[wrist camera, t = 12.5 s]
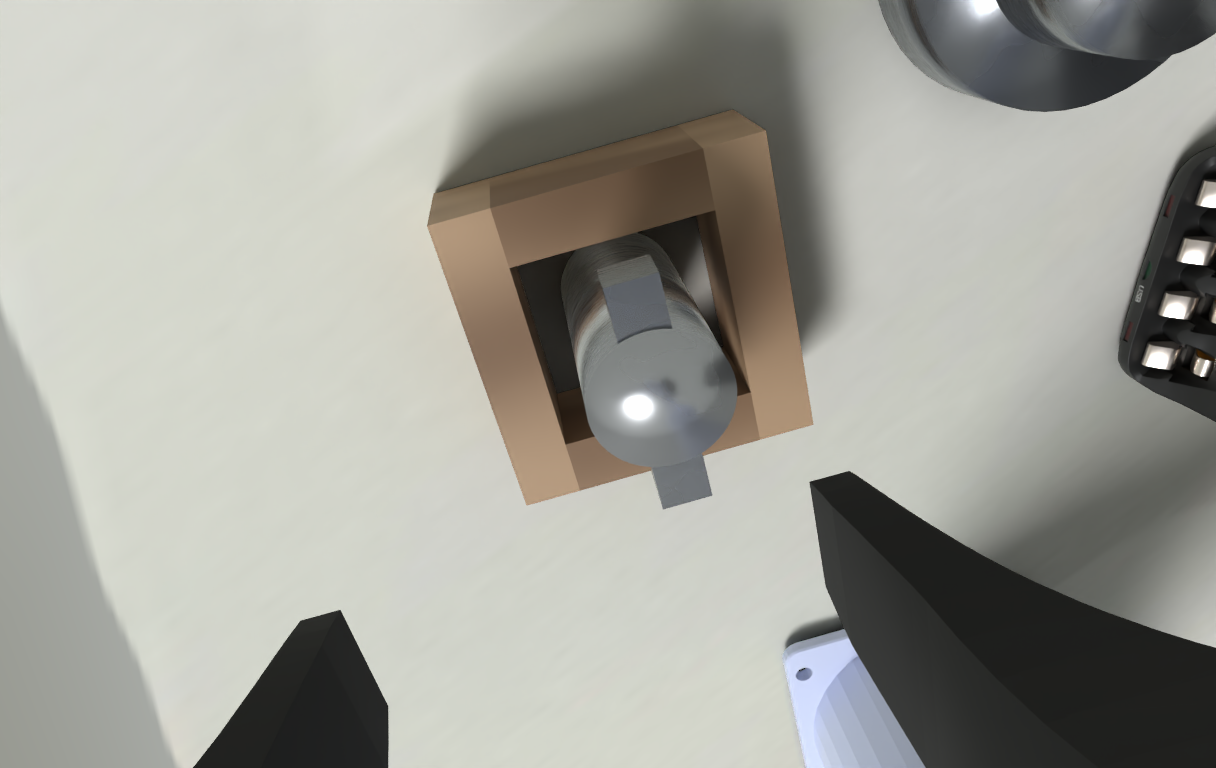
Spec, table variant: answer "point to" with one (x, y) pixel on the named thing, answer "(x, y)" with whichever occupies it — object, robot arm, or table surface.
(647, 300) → the key
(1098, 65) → the base
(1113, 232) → the table surface
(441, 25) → the table surface
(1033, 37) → the collar
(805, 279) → the table surface
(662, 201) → the holder
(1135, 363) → the battery charger
